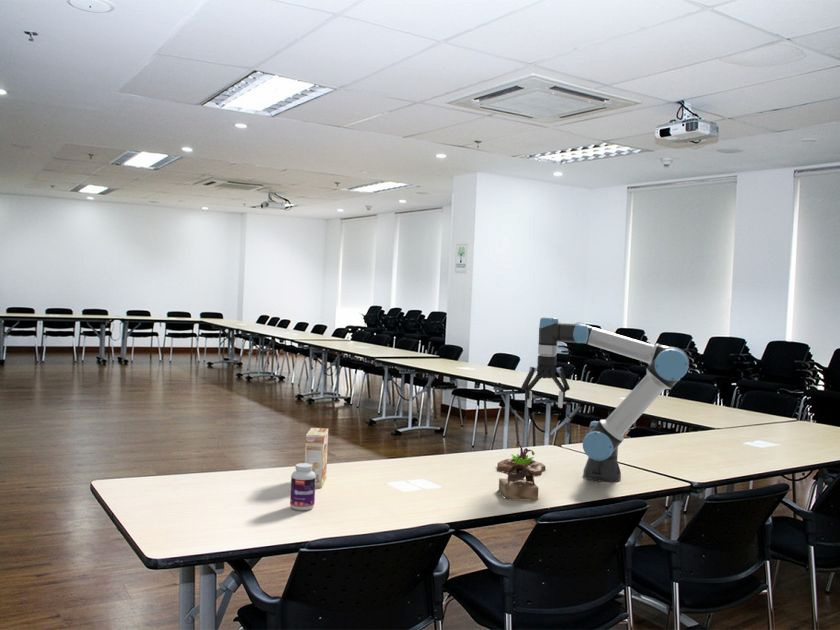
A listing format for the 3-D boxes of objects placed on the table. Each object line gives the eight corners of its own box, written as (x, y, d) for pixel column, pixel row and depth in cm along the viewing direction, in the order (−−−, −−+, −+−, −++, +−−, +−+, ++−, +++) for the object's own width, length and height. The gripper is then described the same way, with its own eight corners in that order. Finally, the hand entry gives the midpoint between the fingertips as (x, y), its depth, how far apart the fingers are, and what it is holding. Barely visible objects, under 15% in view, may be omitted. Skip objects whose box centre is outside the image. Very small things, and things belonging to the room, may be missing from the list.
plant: (504, 462, 318) (506, 437, 318) (548, 468, 311) (549, 442, 310) (491, 472, 300) (492, 445, 299) (537, 478, 292) (539, 451, 292)
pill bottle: (291, 512, 234) (292, 468, 234) (288, 504, 242) (290, 462, 242) (316, 511, 237) (317, 467, 236) (312, 503, 244) (314, 461, 244)
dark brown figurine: (538, 489, 260) (529, 470, 258) (514, 498, 261) (505, 480, 259) (533, 472, 271) (525, 454, 269) (510, 481, 273) (502, 463, 271)
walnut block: (529, 491, 272) (530, 478, 272) (537, 501, 260) (538, 487, 260) (498, 491, 271) (499, 478, 271) (505, 500, 259) (505, 487, 259)
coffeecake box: (322, 488, 264) (324, 435, 263) (302, 487, 264) (304, 434, 263) (327, 477, 279) (329, 427, 278) (308, 477, 278) (310, 427, 278)
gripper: (571, 355, 298) (569, 405, 299) (515, 353, 292) (512, 405, 293) (579, 356, 291) (577, 408, 291) (521, 355, 285) (519, 408, 286)
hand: (544, 407), depth 292 cm, fingers open, 13 cm apart
